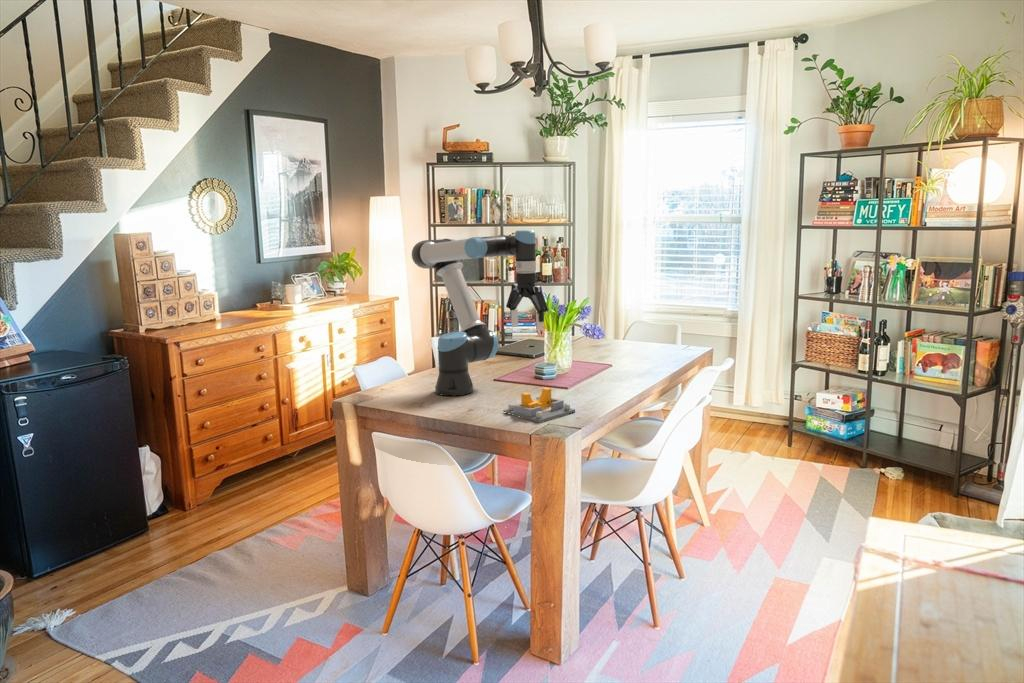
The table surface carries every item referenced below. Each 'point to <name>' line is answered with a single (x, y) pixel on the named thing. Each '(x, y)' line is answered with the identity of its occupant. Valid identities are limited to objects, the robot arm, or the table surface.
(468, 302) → the robot arm
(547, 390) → the orange bracket
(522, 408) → the chassis
